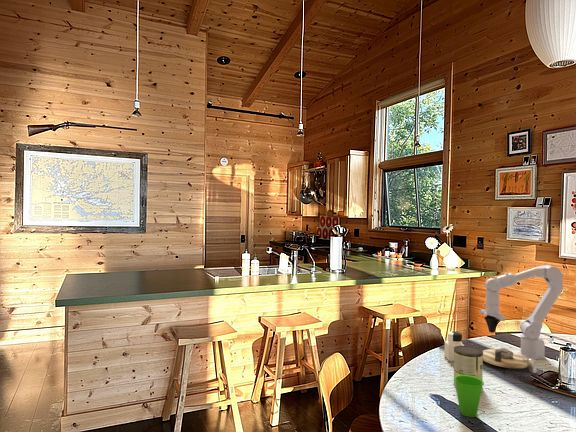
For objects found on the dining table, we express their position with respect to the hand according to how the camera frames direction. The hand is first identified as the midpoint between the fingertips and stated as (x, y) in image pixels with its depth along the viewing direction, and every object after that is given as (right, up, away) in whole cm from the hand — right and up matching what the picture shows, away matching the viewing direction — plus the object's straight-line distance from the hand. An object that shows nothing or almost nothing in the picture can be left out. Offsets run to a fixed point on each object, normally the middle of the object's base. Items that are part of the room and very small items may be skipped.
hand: (491, 332), depth 196 cm
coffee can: (-29, -10, -40) cm, 50 cm away
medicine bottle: (-22, -10, -9) cm, 25 cm away
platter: (-1, -9, -14) cm, 16 cm away
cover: (-1, -7, -13) cm, 15 cm away
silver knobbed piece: (+5, -10, -22) cm, 25 cm away
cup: (-38, -10, -61) cm, 73 cm away
